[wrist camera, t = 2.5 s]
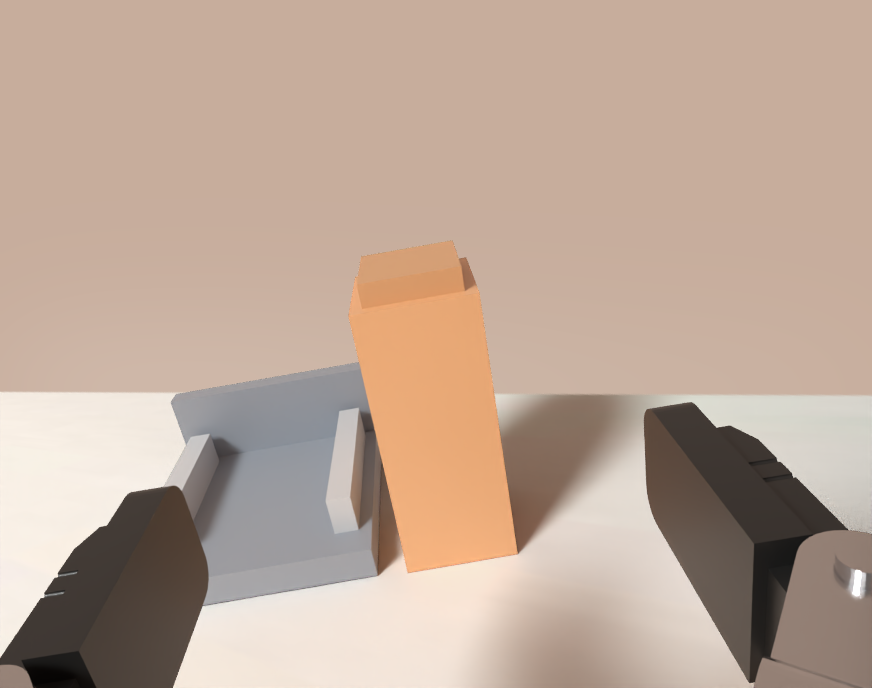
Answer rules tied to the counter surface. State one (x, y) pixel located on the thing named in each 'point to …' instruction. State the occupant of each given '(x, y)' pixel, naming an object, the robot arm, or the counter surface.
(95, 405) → the counter surface
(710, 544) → the robot arm
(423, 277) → the block
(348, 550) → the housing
